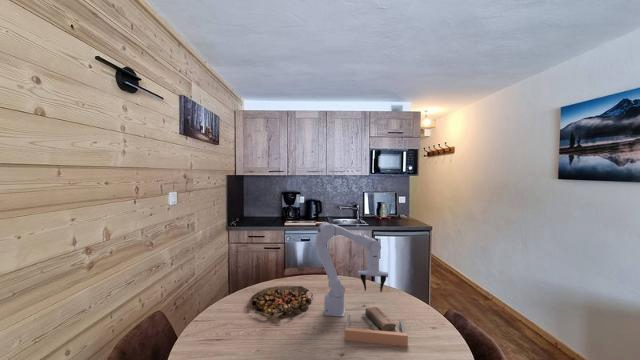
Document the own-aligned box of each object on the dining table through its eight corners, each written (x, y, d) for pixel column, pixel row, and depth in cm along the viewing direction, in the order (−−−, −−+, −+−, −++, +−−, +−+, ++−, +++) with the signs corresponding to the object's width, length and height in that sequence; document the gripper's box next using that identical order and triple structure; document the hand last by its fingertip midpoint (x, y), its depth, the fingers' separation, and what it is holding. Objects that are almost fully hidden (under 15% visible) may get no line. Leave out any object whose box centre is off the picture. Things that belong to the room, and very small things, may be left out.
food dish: (298, 328, 120) (298, 311, 119) (235, 318, 130) (234, 302, 130) (322, 294, 153) (322, 280, 153) (270, 287, 163) (270, 275, 163)
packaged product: (361, 307, 128) (380, 304, 131) (361, 317, 128) (380, 314, 131) (380, 327, 111) (401, 323, 113) (380, 338, 111) (401, 335, 113)
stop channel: (344, 340, 109) (344, 330, 109) (347, 319, 125) (347, 311, 125) (407, 346, 105) (407, 335, 105) (402, 324, 121) (402, 315, 121)
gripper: (387, 261, 138) (387, 288, 138) (358, 260, 140) (358, 286, 140) (388, 266, 131) (388, 294, 131) (358, 264, 133) (358, 291, 133)
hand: (373, 290), depth 135 cm, fingers open, 7 cm apart
